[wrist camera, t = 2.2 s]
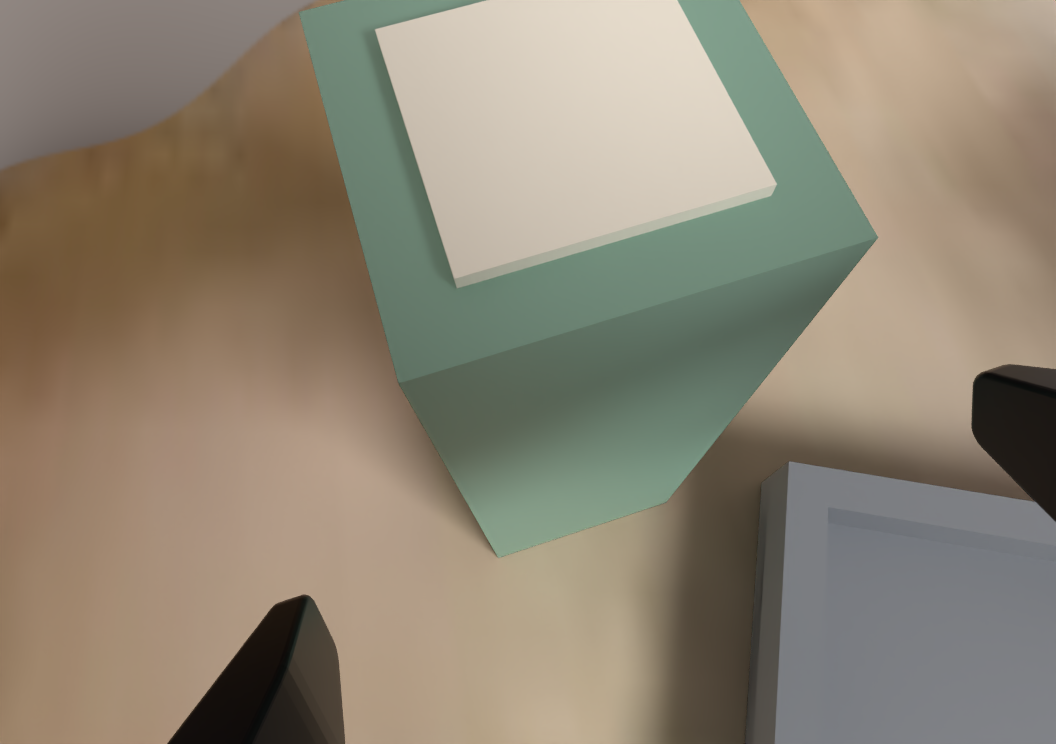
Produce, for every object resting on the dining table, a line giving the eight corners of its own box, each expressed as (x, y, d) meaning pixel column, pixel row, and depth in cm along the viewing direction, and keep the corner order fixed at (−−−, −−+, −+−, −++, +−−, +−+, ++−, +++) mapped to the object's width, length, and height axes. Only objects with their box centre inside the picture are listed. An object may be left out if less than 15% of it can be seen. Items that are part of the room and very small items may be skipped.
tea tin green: (665, 502, 20) (887, 226, 7) (498, 557, 20) (393, 375, 7) (605, 349, 22) (691, -103, 9) (450, 397, 22) (293, -2, 8)
